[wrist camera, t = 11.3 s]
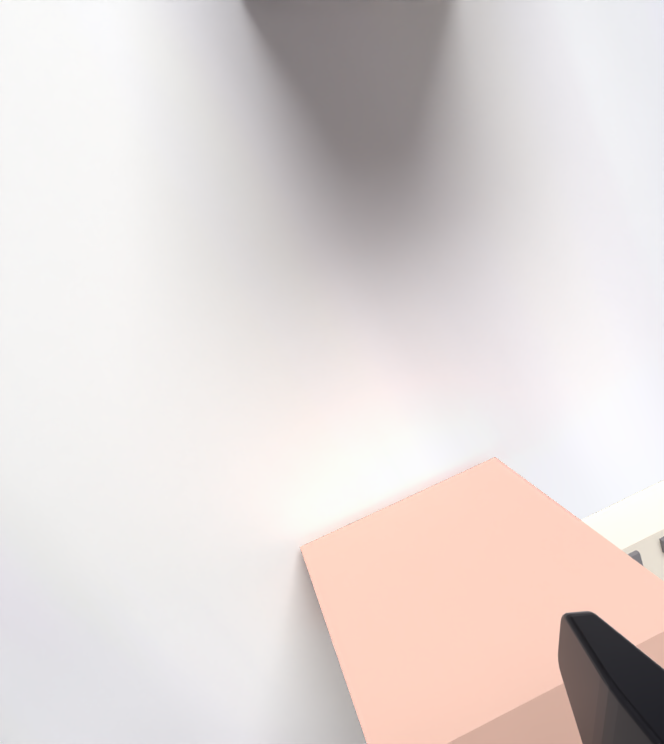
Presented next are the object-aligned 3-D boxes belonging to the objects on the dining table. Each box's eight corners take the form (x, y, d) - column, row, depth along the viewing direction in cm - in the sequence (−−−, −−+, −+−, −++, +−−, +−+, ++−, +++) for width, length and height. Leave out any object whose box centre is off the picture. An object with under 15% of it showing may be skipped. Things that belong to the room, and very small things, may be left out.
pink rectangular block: (338, 633, 23) (437, 905, 14) (299, 546, 22) (378, 778, 13) (522, 544, 24) (734, 742, 15) (495, 456, 23) (704, 610, 14)
